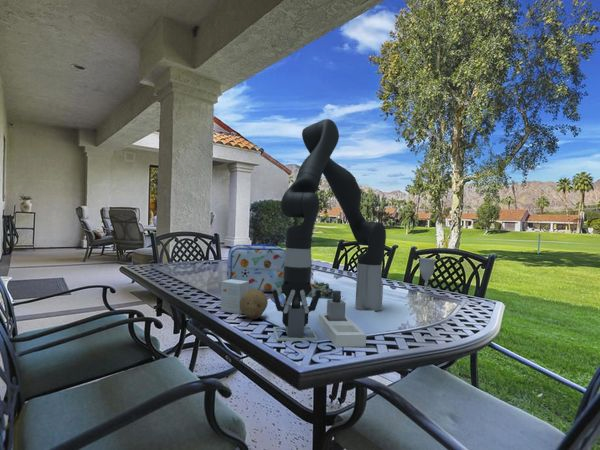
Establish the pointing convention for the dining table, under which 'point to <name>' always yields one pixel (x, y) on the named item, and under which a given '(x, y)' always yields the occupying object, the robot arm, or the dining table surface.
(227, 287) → the small box
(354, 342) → the cream socket block
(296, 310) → the plug
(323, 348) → the dining table surface
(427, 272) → the chalice
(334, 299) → the seated twin plug
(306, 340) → the tray
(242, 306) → the natural sponge
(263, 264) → the lunch box
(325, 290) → the plated dish
